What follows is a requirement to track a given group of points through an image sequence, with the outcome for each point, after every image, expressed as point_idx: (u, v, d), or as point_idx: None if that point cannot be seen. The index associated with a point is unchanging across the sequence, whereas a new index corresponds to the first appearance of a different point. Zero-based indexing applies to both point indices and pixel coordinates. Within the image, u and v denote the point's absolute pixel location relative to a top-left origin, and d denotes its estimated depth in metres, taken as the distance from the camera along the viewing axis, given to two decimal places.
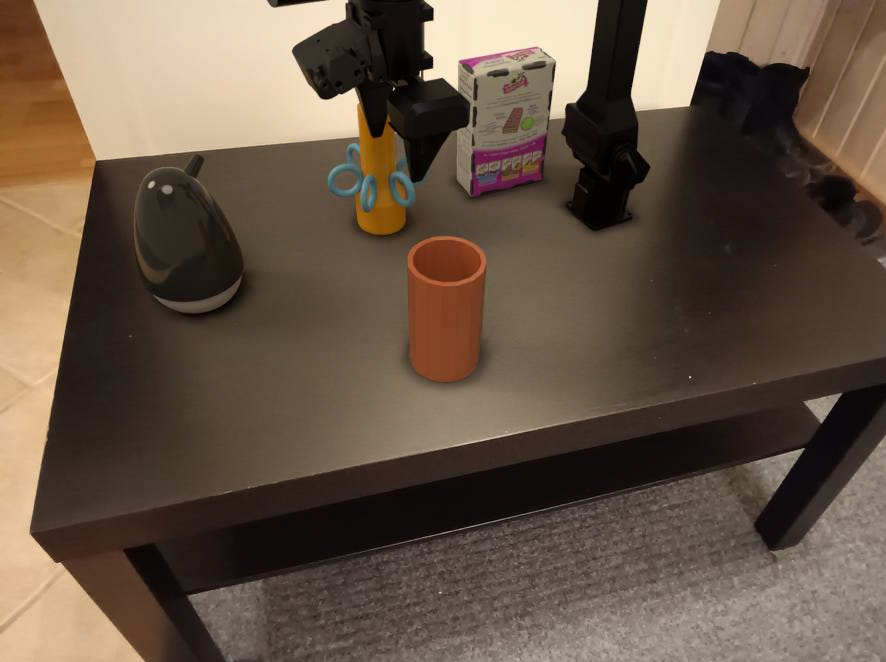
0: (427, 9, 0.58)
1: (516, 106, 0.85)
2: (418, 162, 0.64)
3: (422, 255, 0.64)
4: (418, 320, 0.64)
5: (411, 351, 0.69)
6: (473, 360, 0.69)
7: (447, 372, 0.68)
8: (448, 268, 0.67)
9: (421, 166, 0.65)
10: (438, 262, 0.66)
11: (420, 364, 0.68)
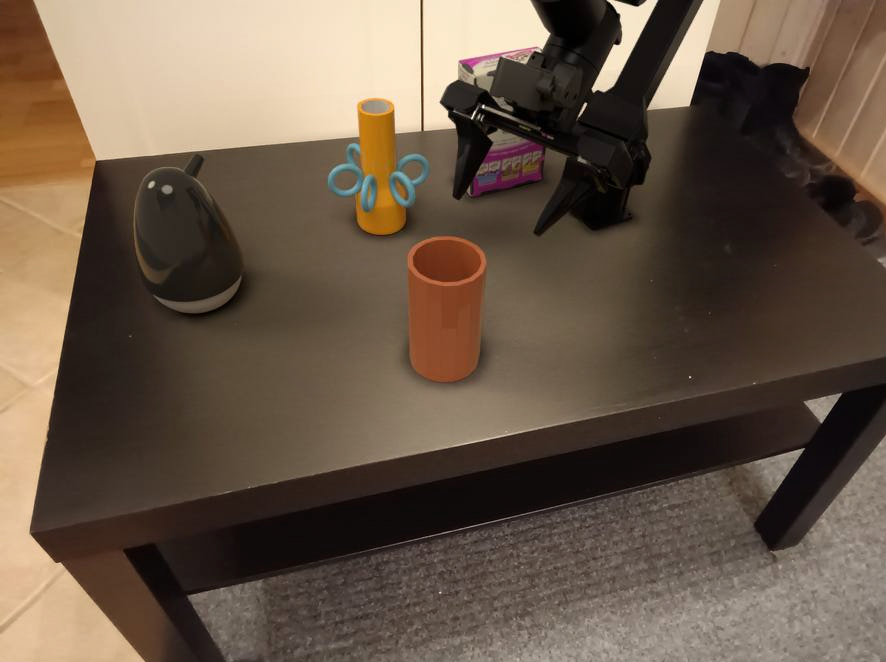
0: (592, 91, 0.66)
1: None
2: (556, 212, 0.64)
3: (422, 255, 0.64)
4: (418, 320, 0.64)
5: (411, 351, 0.69)
6: (473, 360, 0.69)
7: (447, 372, 0.68)
8: (448, 268, 0.67)
9: (553, 219, 0.64)
10: (438, 262, 0.66)
11: (420, 364, 0.68)
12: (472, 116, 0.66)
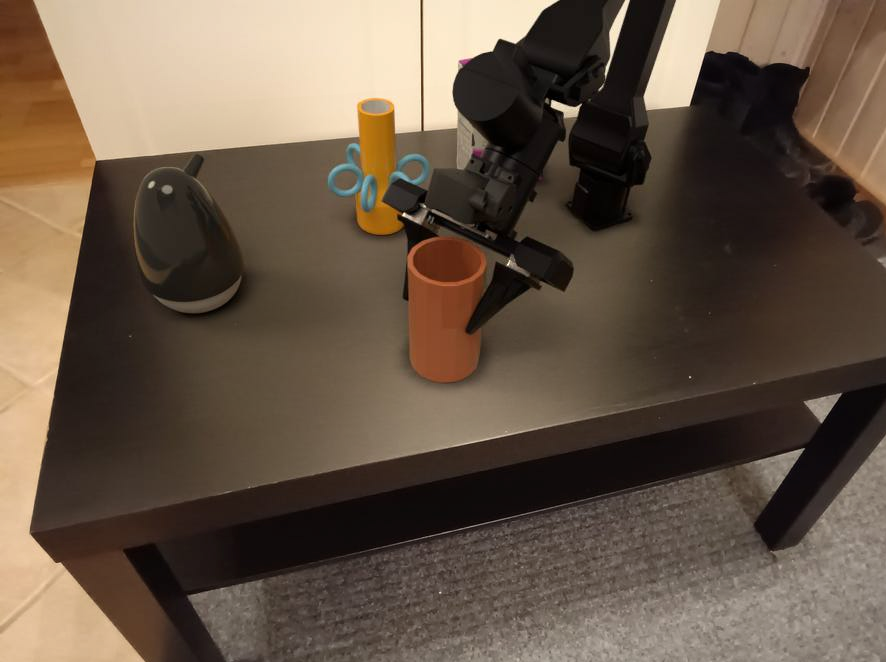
0: (535, 191, 0.65)
1: None
2: (488, 312, 0.64)
3: (422, 255, 0.64)
4: (418, 320, 0.64)
5: (411, 351, 0.69)
6: (473, 360, 0.69)
7: (447, 372, 0.68)
8: (448, 268, 0.67)
9: (485, 318, 0.64)
10: (438, 262, 0.66)
11: (420, 364, 0.68)
12: (421, 220, 0.65)
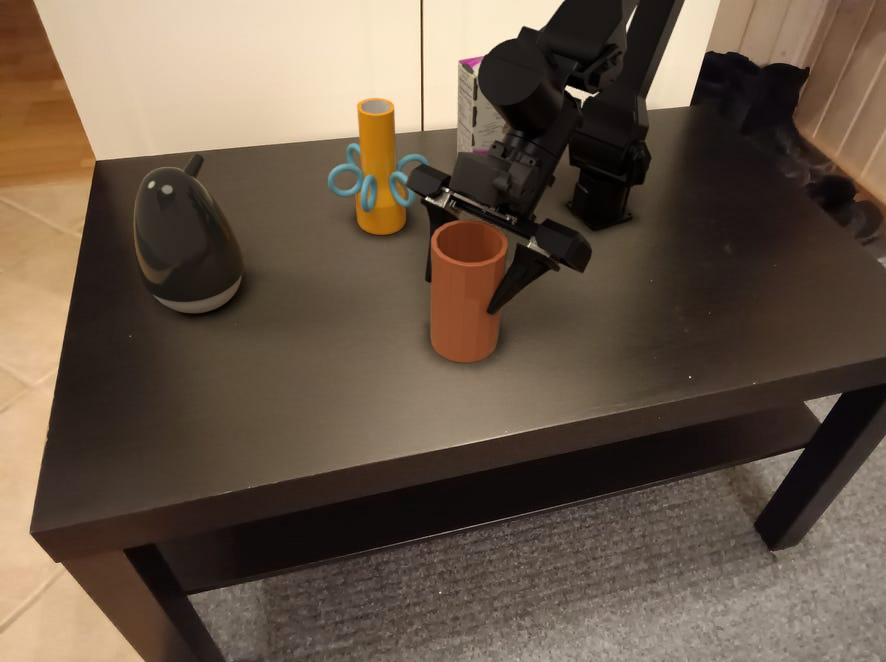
0: (554, 176, 0.68)
1: None
2: (509, 293, 0.66)
3: (444, 237, 0.66)
4: (441, 301, 0.66)
5: (432, 332, 0.71)
6: (493, 341, 0.71)
7: (468, 352, 0.70)
8: (469, 251, 0.69)
9: (506, 298, 0.66)
10: (460, 245, 0.68)
11: (441, 345, 0.70)
12: (444, 204, 0.67)
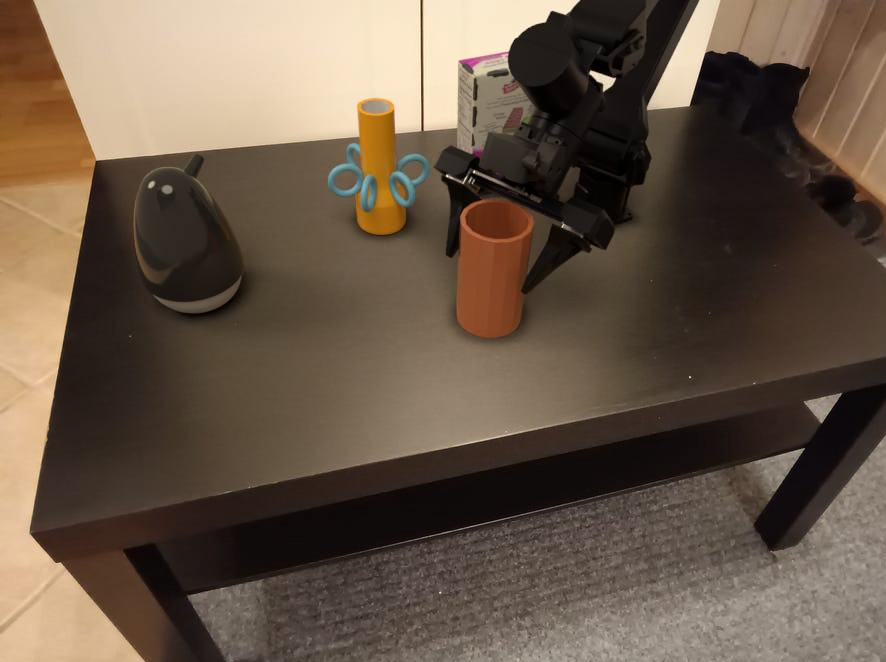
0: (577, 157, 0.70)
1: (516, 106, 0.85)
2: (542, 272, 0.68)
3: (472, 216, 0.69)
4: (469, 277, 0.69)
5: (459, 309, 0.73)
6: (517, 317, 0.73)
7: (493, 328, 0.72)
8: (495, 230, 0.72)
9: (539, 278, 0.68)
10: (486, 224, 0.71)
11: (468, 320, 0.73)
12: (464, 180, 0.70)
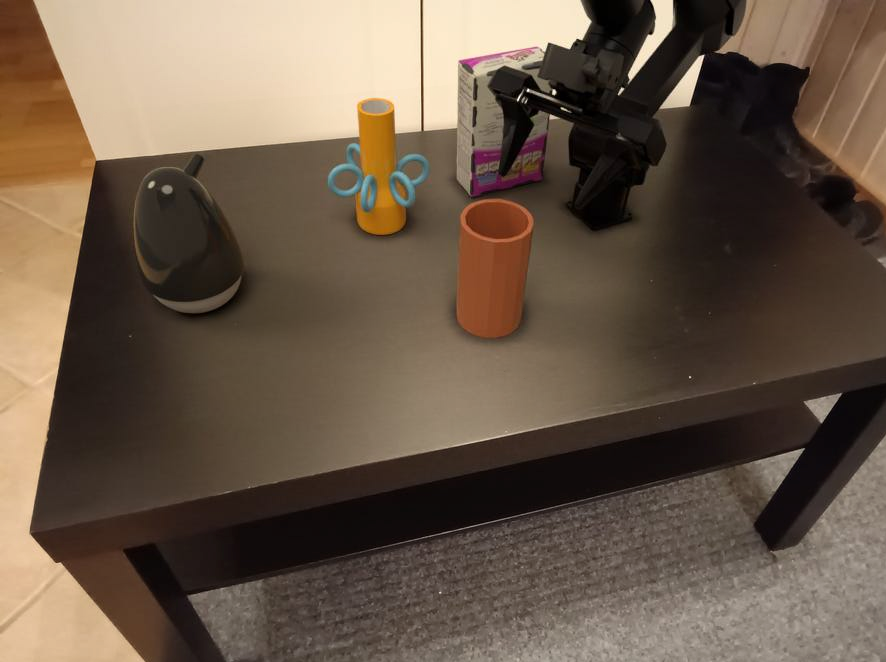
0: (628, 77, 0.72)
1: None
2: (596, 186, 0.69)
3: (472, 216, 0.69)
4: (469, 277, 0.69)
5: (459, 309, 0.73)
6: (517, 317, 0.73)
7: (493, 328, 0.72)
8: (495, 230, 0.72)
9: (592, 193, 0.70)
10: (486, 224, 0.71)
11: (468, 320, 0.73)
12: (518, 99, 0.71)
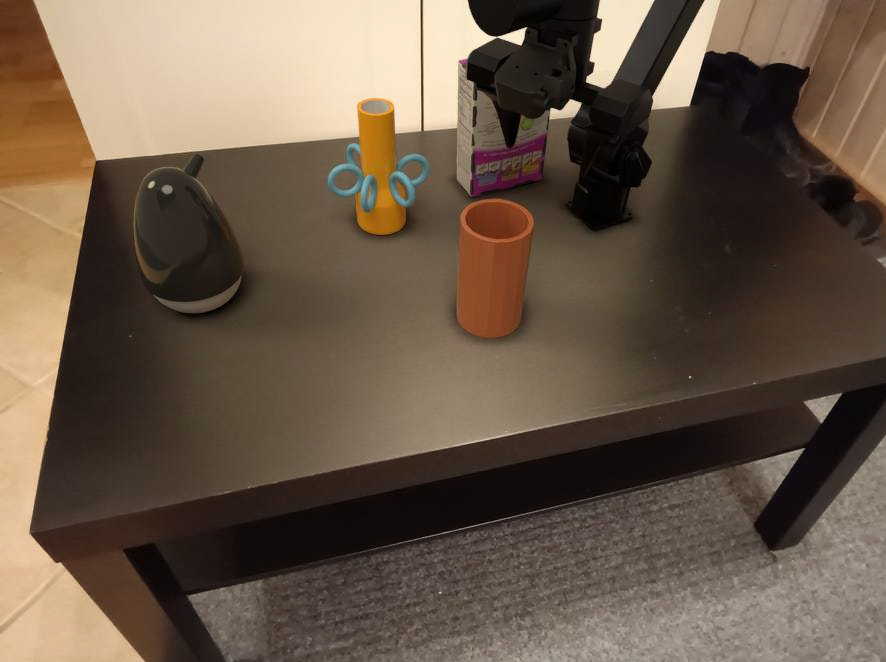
0: (599, 21, 0.66)
1: None
2: (593, 157, 0.72)
3: (472, 216, 0.69)
4: (469, 277, 0.69)
5: (459, 309, 0.73)
6: (517, 317, 0.73)
7: (493, 328, 0.72)
8: (495, 230, 0.72)
9: (593, 161, 0.72)
10: (486, 224, 0.71)
11: (468, 320, 0.73)
12: None
